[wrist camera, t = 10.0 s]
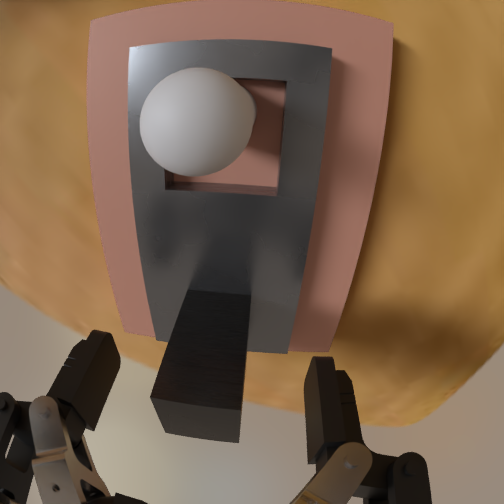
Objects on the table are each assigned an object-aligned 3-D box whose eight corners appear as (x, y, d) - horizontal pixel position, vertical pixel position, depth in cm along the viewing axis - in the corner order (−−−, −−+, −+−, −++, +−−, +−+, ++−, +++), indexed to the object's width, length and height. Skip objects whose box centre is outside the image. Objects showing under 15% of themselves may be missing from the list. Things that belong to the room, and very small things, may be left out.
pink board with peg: (106, 25, 9) (-12, 2, 3) (381, 29, 9) (486, -14, 2) (132, 317, 18) (87, 412, 12) (325, 335, 18) (341, 444, 11)
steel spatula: (141, 50, 9) (17, 29, 3) (326, 53, 9) (403, 1, 3) (162, 326, 17) (124, 430, 10) (286, 338, 16) (289, 453, 10)
